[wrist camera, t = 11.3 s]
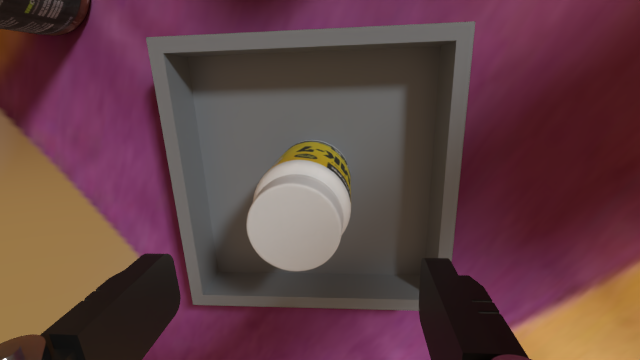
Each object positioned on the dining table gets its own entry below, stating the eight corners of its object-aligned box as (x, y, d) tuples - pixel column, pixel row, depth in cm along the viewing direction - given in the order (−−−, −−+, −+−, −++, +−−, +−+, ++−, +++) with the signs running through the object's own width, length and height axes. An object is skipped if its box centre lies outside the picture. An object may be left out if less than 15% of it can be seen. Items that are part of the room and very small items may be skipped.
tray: (452, 32, 19) (475, 21, 15) (432, 278, 24) (446, 311, 20) (179, 44, 20) (145, 37, 17) (213, 274, 25) (193, 304, 22)
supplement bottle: (364, 165, 21) (376, 218, 13) (324, 220, 22) (311, 300, 14) (302, 123, 20) (272, 151, 12) (264, 182, 22) (216, 242, 14)
